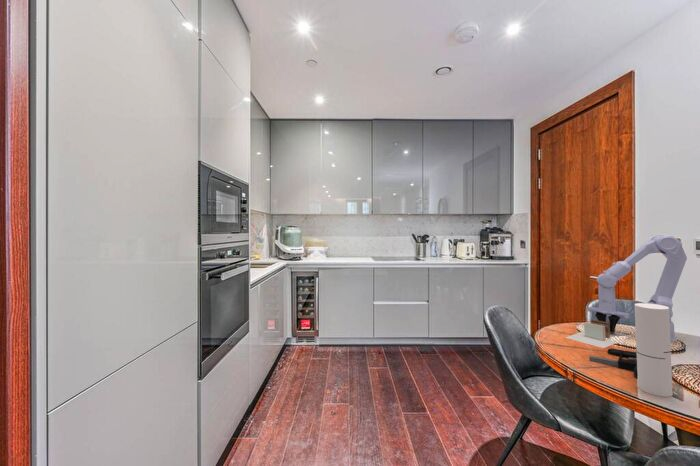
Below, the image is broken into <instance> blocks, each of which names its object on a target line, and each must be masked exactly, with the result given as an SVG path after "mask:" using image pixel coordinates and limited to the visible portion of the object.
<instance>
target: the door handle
mask: <svg viewBox="0 0 700 466" xmlns="http://www.w3.org/2000/svg"><path fill="white" fill-rule="evenodd" d="M607 354H609V355H610V356H611V355H612V356H616V357H618V359H617V360H616V359H610V358H606V357H600V356H594V355H589V358H588V359H589V362H594V363H599V364H601V363H602V365H606V366H612V367H616V368H618V369H620V368H621V370H624V369H625V371H630V372H633V373H634V376H635V377H636V378H638V374H637V351H636V352H635V351H629V350H624V349H617V348H608V349H607ZM625 358H626V359H625Z"/></svg>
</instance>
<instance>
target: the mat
mask: <svg viewBox="0 0 700 466" xmlns="http://www.w3.org/2000/svg"><path fill="white" fill-rule="evenodd" d="M615 336H617V337H619V336H626V337H628V338H627V339H630V338H632V337H633V335H628V334H626V333H620V332H618V331H615V333H613V334H611V335H610V337H615ZM564 338H565V339H568V340H571V341H574V342H579V343H582V344H586V345H589V346H590V345H591V346H593V347H597V348H601V349H605V348H607V347H610V346H612V345H615V344H616V343H615V342H612V341H611V338H607V339H606V340H605V341H602V340H598V339H594V338H590V337H586V336H585V330H583V331H580V332H578V333H574V334H572V335H569V336H565V337H564Z"/></svg>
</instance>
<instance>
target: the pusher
mask: <svg viewBox="0 0 700 466" xmlns="http://www.w3.org/2000/svg"><path fill="white" fill-rule="evenodd" d="M589 323H592V324H597V325H601V326H605V336H606V338H610V335H611V334H613V333H615V332H616V330H615V331H614V332H611V331H610V322H608V321H606V322H603V321H598V319H597V320H596V319H591V321H590V322H589Z"/></svg>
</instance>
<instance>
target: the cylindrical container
mask: <svg viewBox="0 0 700 466" xmlns="http://www.w3.org/2000/svg"><path fill="white" fill-rule="evenodd" d="M634 317H635V318H634V324H635V327H634V328H635V345H636V346H635V348H636V352H637V360H636V361H637V374H638V377H637V388H638V389H639V390H641V391H643V392H645V393H647V394H650V395H653V396H658V397H662V398H663V397H664V398H669V397H673V395H674V394H673V375H672V374H673V372H672V371H673V368H672V352H671V351H672V347H671V346H672V345H671V343H670V321H669V307H667V306H663V305H657V304H649V303H647V302H646V303H645V302H638V303H634Z"/></svg>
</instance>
